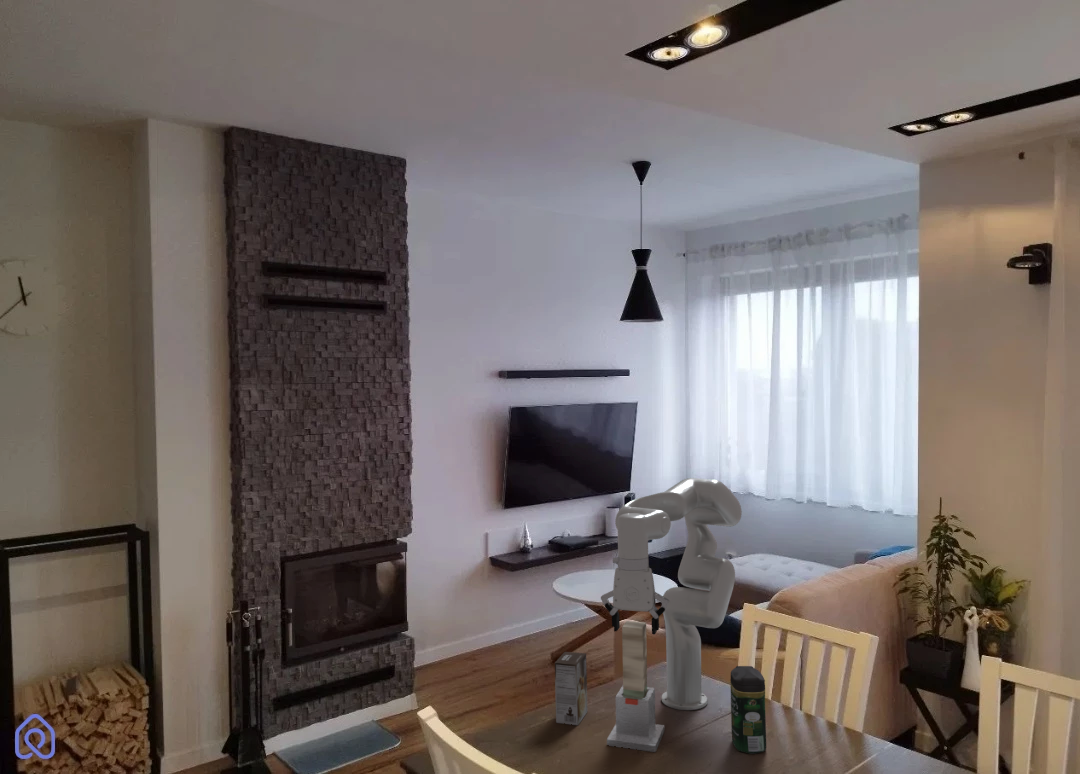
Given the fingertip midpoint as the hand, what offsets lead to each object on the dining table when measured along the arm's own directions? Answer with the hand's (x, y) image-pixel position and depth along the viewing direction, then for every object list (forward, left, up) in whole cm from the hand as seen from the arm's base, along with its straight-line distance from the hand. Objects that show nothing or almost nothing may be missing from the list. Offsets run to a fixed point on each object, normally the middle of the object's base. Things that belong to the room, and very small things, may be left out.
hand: (635, 631), depth 195 cm
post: (+1, 0, -18) cm, 18 cm away
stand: (+1, 0, -27) cm, 27 cm away
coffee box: (-6, -19, -27) cm, 34 cm away
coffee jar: (-3, +27, -27) cm, 38 cm away
